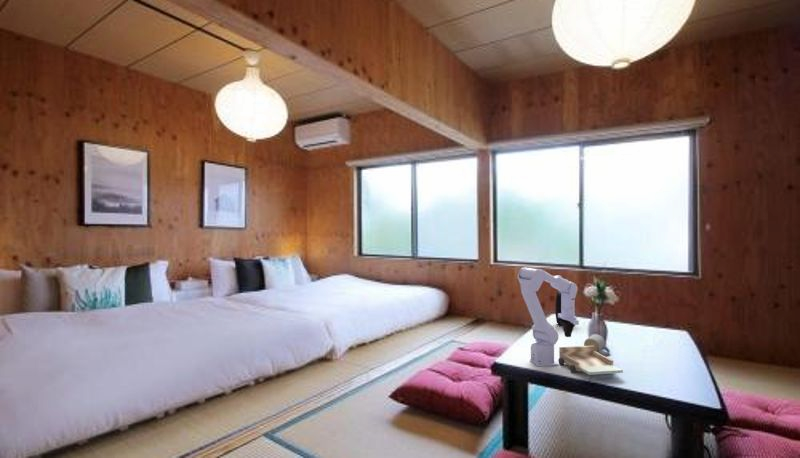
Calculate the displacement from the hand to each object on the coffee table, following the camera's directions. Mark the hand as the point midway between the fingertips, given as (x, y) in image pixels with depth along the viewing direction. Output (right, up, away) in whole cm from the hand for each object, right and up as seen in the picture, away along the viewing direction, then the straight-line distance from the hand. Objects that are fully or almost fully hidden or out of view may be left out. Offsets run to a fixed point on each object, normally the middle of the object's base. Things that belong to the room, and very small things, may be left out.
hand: (567, 336), depth 187 cm
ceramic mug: (+17, -9, +6) cm, 20 cm away
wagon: (+2, -10, -14) cm, 17 cm away
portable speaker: (+21, -8, +57) cm, 62 cm away
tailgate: (+3, -7, -22) cm, 23 cm away
